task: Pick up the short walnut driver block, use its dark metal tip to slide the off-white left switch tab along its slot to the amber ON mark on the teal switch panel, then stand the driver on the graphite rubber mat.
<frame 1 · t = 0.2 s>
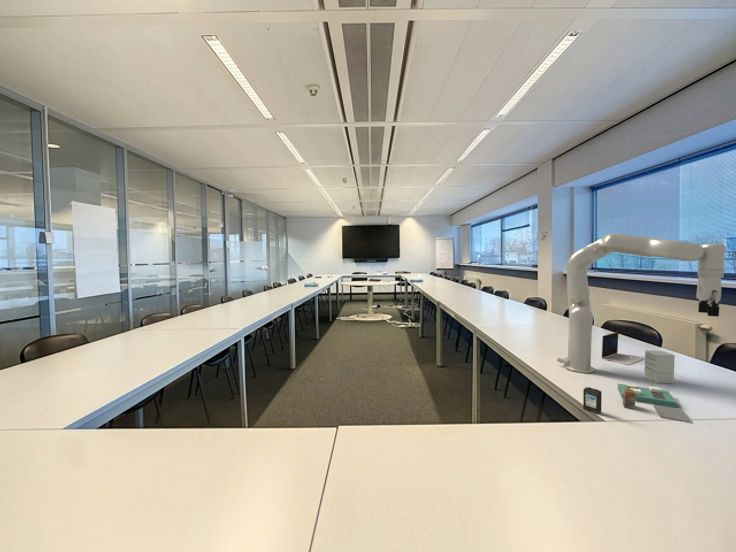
hand: (708, 314, 138), 31 cm above the table, fingers open, 9 cm apart
walnut driver: (628, 406, 122), on the table
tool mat: (671, 414, 116), on the table
switch tab right: (655, 389, 130), point 3 cm above the table, slide at 6.0 cm
ink cartridge: (591, 411, 119), on the table
switch tab left: (635, 391, 129), point 3 cm above the table, slide at 0.0 cm
supplement box: (658, 380, 148), on the table
laptop: (622, 360, 178), on the table
switch panel: (645, 397, 130), on the table
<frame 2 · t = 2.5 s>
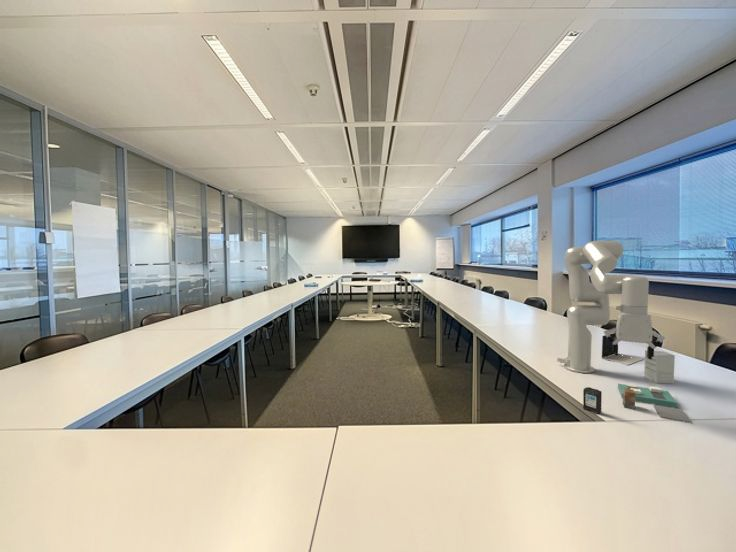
hand: (632, 356, 121), 19 cm above the table, fingers open, 9 cm apart
nothing on the table moved.
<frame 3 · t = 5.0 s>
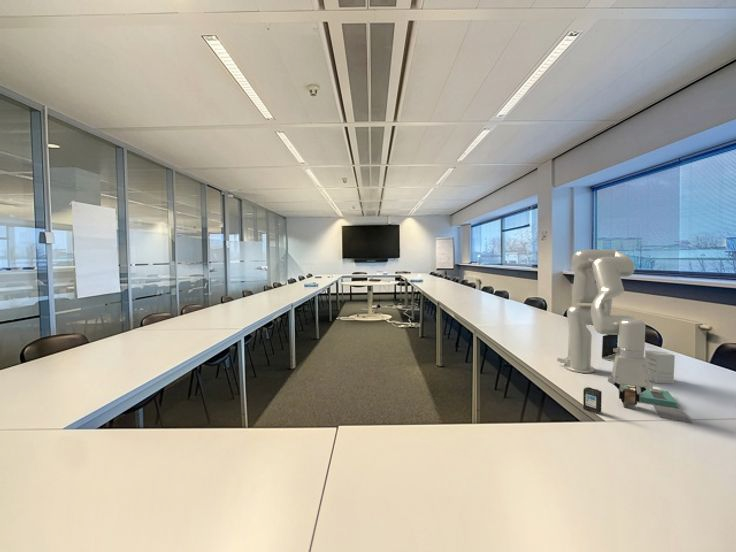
hand: (628, 401, 122), 2 cm above the table, fingers closed on walnut driver, 3 cm apart
walnut driver: (628, 406, 122), on the table, touching gripper
everything else where it was.
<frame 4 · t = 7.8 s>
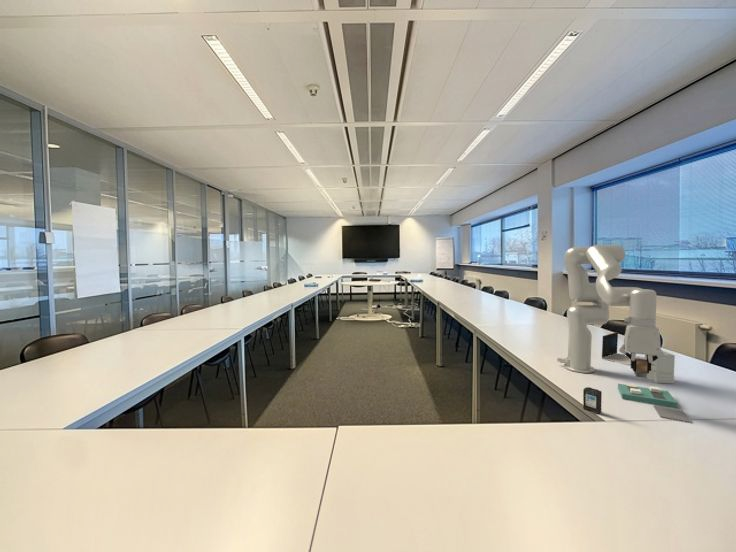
hand: (640, 371, 123), 13 cm above the table, fingers closed on walnut driver, 3 cm apart
walnut driver: (640, 375, 123), point 11 cm above the table, touching gripper
everything else where it was.
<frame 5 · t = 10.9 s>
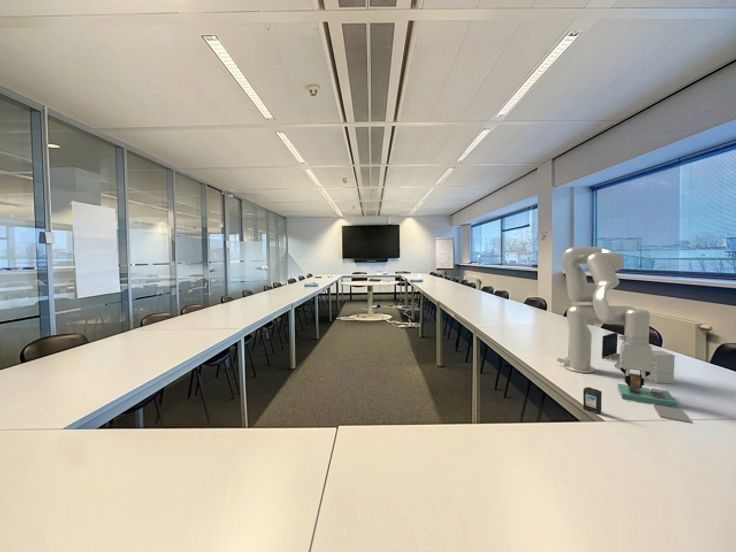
hand: (634, 385, 131), 4 cm above the table, fingers closed on walnut driver, 3 cm apart
walnut driver: (634, 390, 131), point 2 cm above the table, touching gripper, switch tab left
switch tab left: (632, 386, 134), point 3 cm above the table, slide at 6.1 cm, touching walnut driver
everything else where it was.
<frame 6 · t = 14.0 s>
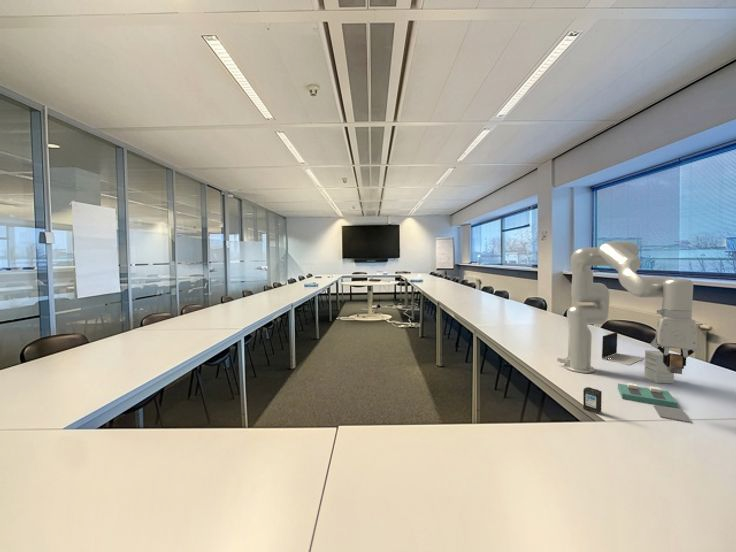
hand: (674, 366, 115), 17 cm above the table, fingers closed on walnut driver, 3 cm apart
walnut driver: (674, 372, 114), point 15 cm above the table, touching gripper
switch tab left: (632, 386, 134), point 3 cm above the table, slide at 6.1 cm
everything else where it was.
when the fingers open (3 cm above the table, at t = 16.8 s): walnut driver stays where it is, resting on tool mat.
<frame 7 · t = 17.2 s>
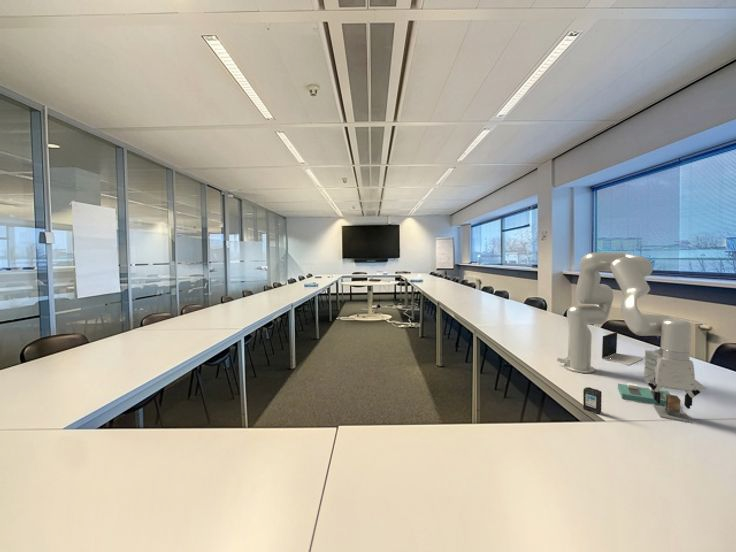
hand: (672, 404, 116), 4 cm above the table, fingers open, 7 cm apart
walnut driver: (672, 413, 115), resting on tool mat
everything else where it was.
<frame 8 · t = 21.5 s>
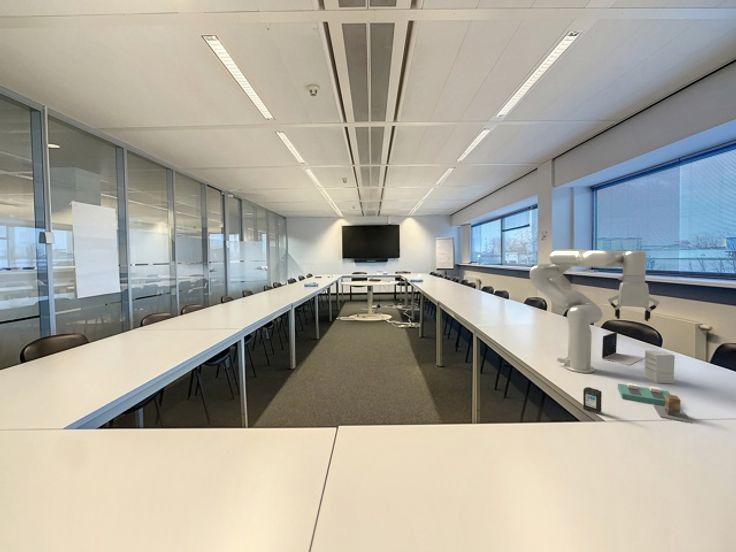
hand: (632, 319, 142), 28 cm above the table, fingers open, 9 cm apart
nothing on the table moved.
at the end: switch tab left slide at 6.1 cm; switch tab right slide at 6.0 cm; walnut driver inside the target area (0.7 cm from its centre), resting on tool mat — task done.
